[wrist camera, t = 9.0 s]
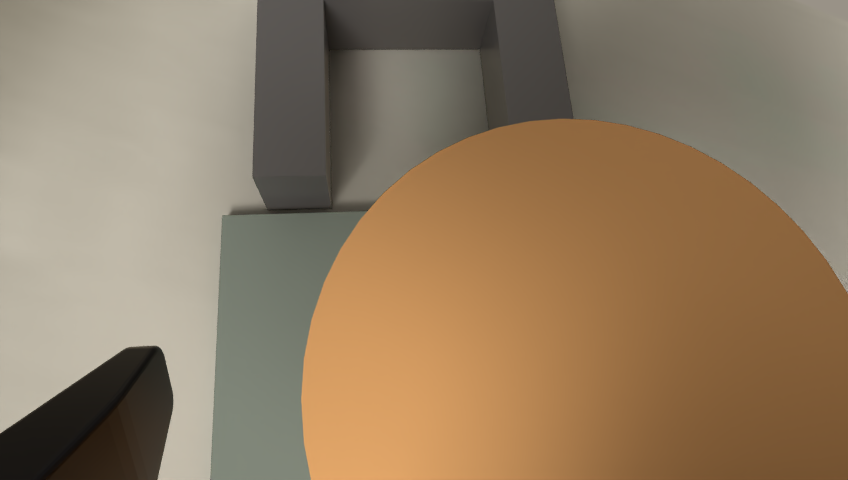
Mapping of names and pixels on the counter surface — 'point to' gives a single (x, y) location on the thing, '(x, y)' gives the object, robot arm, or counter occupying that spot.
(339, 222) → the mat
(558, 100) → the dark grey piece
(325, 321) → the orange peg
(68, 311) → the counter surface
